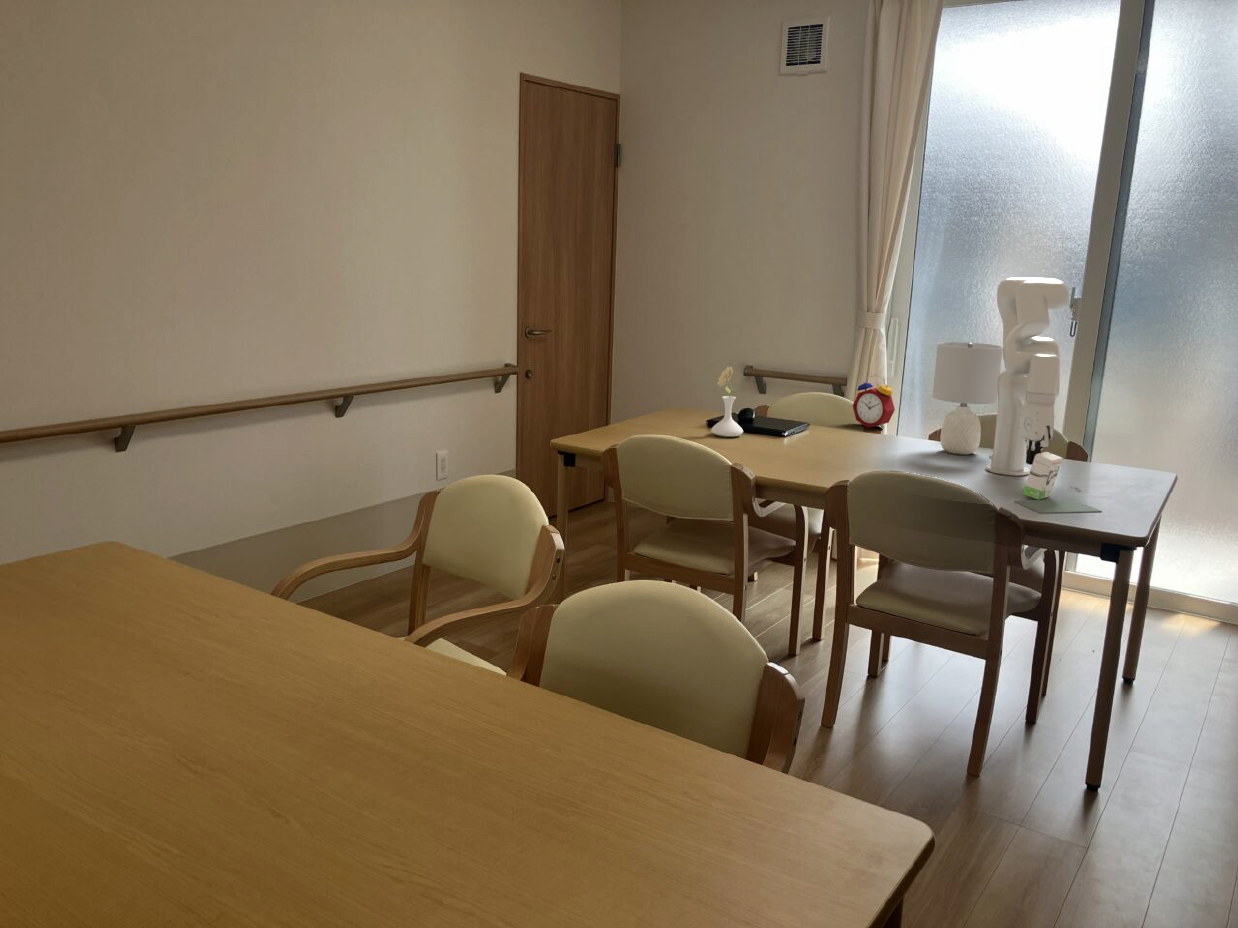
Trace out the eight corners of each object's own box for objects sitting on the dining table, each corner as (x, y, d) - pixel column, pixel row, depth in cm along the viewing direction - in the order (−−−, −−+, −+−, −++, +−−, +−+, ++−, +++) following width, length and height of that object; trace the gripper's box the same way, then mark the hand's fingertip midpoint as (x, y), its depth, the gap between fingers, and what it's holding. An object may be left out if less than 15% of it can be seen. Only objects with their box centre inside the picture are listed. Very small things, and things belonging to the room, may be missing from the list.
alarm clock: (850, 424, 381) (854, 373, 377) (863, 422, 387) (867, 371, 383) (884, 430, 371) (888, 377, 366) (896, 428, 377) (901, 376, 372)
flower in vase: (711, 431, 359) (715, 362, 353) (743, 433, 357) (747, 364, 352) (709, 438, 346) (713, 367, 340) (742, 440, 344) (746, 368, 339)
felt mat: (1014, 501, 271) (1014, 500, 271) (1073, 500, 274) (1073, 499, 274) (1039, 513, 259) (1039, 512, 259) (1101, 512, 263) (1101, 510, 263)
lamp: (1003, 457, 329) (1016, 346, 321) (953, 460, 322) (965, 346, 314) (963, 445, 347) (974, 340, 339) (914, 447, 340) (925, 340, 332)
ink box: (1038, 500, 272) (1052, 460, 268) (1021, 493, 275) (1035, 454, 271) (1050, 496, 278) (1064, 457, 274) (1033, 490, 281) (1046, 451, 277)
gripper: (1012, 395, 280) (1005, 458, 284) (1043, 403, 266) (1035, 469, 270) (1037, 395, 281) (1029, 458, 285) (1069, 403, 267) (1060, 469, 271)
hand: (1032, 463), depth 277 cm, fingers closed
